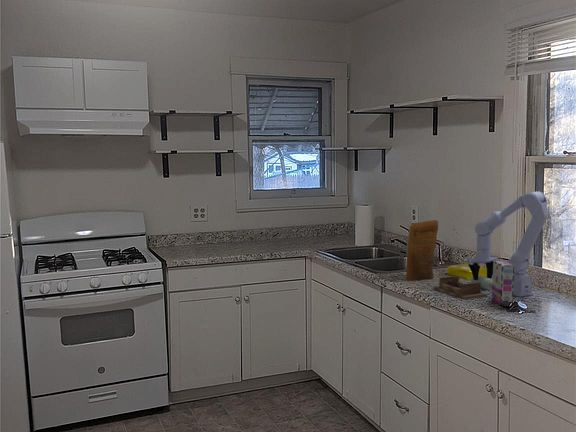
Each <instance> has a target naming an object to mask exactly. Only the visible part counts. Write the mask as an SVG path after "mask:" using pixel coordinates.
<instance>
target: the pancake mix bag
mask: <svg viewBox="0 0 576 432" xmlns="http://www.w3.org/2000/svg"><path fill="white" fill-rule="evenodd" d="M438 231H439V221H438V220H435V219H433V220H425V221H422V222H421V221H420V222H412V223H411V225H409V228H408V234H407V240H406V251H405V252H406V265H405V266H406V277H405V281H408V282H416V280H418V281H424V280H429V279H430V280H431V279H434V271H433V270H434V261H435V258H434V257H435V249H436V245H437V239H438V238H437V237H438V236H437V235H438Z"/></svg>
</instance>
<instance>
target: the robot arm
mask: <svg viewBox="0 0 576 432" xmlns="http://www.w3.org/2000/svg"><path fill="white" fill-rule="evenodd" d="M547 204H548V199H547V197H546V195H545V194H544V193H543V192H542V191H539V190H537V191H533V192H531V191H530V192H525V193H524V194H523V195H521V196H519V197H517V198H516V199H515V200H514V201H512V202H511V203H510V204H509V205H508V206H506V207H505V208H503V209H502V210H501V211H498V210H497V211H492V212H491V215H489V216H488V217H487V218H484V219H483V221H480V222H477V223H476V225H475V227H474V230H475V233H476V234H477V235H476V257H474V258H472V259H471V258H470V259H468V262H467V263H468V264H469V267H470V269H471V271H472V275H473V279H474V280H478V275H479V269H480V267H481V266H482V265H479V264H485V267H486V268H487V277H486V278H490V279H493V261H499V260H498V259H499V258H498V257H495V256H494V257H493V256H491V241H492V239H491V238H492V237H491V235H492V233H493V232H494V230H496V229H497V228H499V227H501V226H502V224H504V223H505V222H506V220H507V217H509V216H510V215H512V214H514V213H515V212H516V211H518V210H520V209H521V208H525V209H527V210H528V211H529V213H530V215H531V219H530V221H529V223H528V226H527V227H526V229H525V232H524V234H523V236H522V238H521V240H520V242H519V245H518V247H517V249H516V250H515V252H514V253H513V254H512V255H511V257H510V258H509V259H508V260H507V261H506V262H508V263H510V264H512V265H514V283H513V296H515V297H518V298H519V297H520V298H521V297H526V296H533V295H534V293H533V279H532V277H531V276H530V275H528V273H527V269H528V268H529V265H530V259H531V251H532V249H533V247H534V245H535V243H536V241H537V239H538V237H539V236H540V233H541V231H542V229H543V227H544V225H545V223H546V220H547V219H548V207H547V206H548V205H547Z"/></svg>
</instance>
